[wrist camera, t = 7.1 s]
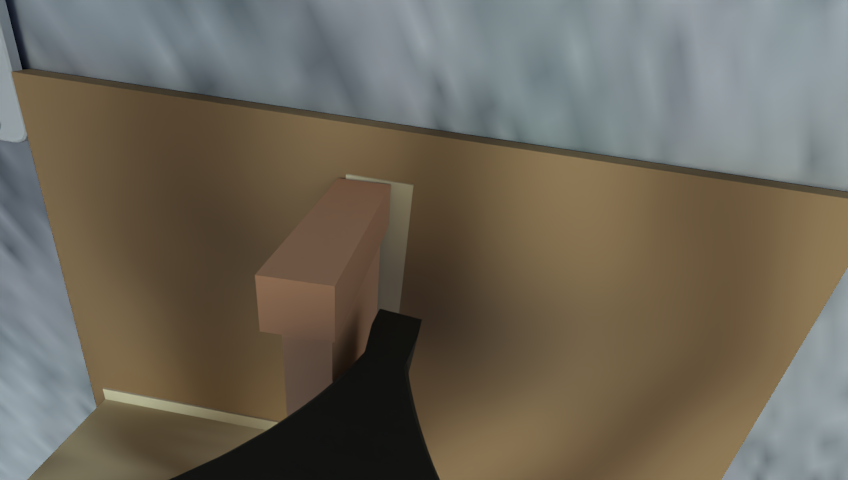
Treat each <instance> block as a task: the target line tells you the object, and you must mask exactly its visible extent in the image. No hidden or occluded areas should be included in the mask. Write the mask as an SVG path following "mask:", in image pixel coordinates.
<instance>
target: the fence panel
mask: <svg viewBox="0 0 848 480" xmlns="http://www.w3.org/2000/svg"><path fill="white" fill-rule="evenodd" d="M390 191H391V185H389V184H381V183H373V182H365V181H357V180H349V179H341V178H338V179H337V180H336V181H335V182H334V184H333V185H332V186H331V187H330V188H329V189H328V190H327V192H326V193H325V194H324V195H323V196H322V197H321V199H320V200H319V201H318V202H317V203H316V204H315V206H314V207H313V208H312V209H311V210H310V211H309V213H308V214H307V215H306V216H305V217H304V218H303V220H302V221H301V222H300V223H299V224H298V225H297V227H296V228H295V229H294V230H293V231H292V232H291V234H290V235H289V236H288V237H287V238H286V239H285V241H284V242H283V243H282V244H281V245H280V246H279V248H278V249H277V250H276V251H275V252H274V253H273V255H272V256H271V257H270V258H269V259H268V260H267V262H266V263H265V264H264V265H263V266H262V267H261V268H260V270H259V271H258V272H257V273H256V274H255V281H256V293H257V305H258V317H259V328H260V332H267V333H274V334H280V335H282V341H283V358H284V374H285V391H286V408H287V417H288V416H289V415H291V414H292V413H294V412H295V411H297V410H298V409H300V408H301V407H302V406H304V405H305V404H306V403H308V402H309V401H310V400H312V399H313V398H314V397H316V396H317V395H318V394H319V393H321V392H322V391H323V390H324V389H326V388H327V387H328V386H329V385H330V384H332V383H333V382H334V381H335V380H336V379H337V378H338V377H339V376H340V375H341V374H343V373H344V372H345V371H346V370H347V369H348V368H349V367H350V366H351V365H352V364H353V363H354V362H355V361H356V360H357V359H358V358H359V357H360V356H361V355H362V354H363V353H364V352H365V349H366V345H367V341H368V337H369V333H370V329H371V325H372V323H373V321H374V319H375V317H376V315H377V304H378V283H379V262H380V244H381V242H382V240H383V237H384V235H385V233H386V231H387V229H388V227H389V209H390Z"/></svg>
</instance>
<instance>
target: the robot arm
mask: <svg viewBox="0 0 848 480" xmlns="http://www.w3.org/2000/svg"><path fill="white" fill-rule="evenodd" d="M19 70H22V67H21V62H20V58H19V54H18V50H17V46H16V42H15V38H14V34H13V30H12V26H11V22H10V18H9V14H8V10H7V5H6V1H5V0H0V124H1V125H0V140H3V141H9V142H23V141H26V140H28V136H27V132H26V129H25V125H24V121H23V117H22V113H21V109H20V105H19V101H18V97H17V93H16V90H15V86H14V82H13V78H12V74H11V72H13V71H19ZM421 322H422V319H419V318H415V317H411V316H407V315H403V314H399V313H395V312H391V311H387V310H384V309H379V311H378V313H377V315H376V317H375V319H374V321H373V323H372V325H371V329H370V333H369V337H368V341H367V345H366V349H365V352H364V353H363V354H362V355H361V356H360V357H359V358H358V359H357V360H356V361H355V362H354V363H353V364H352V365H351V366H350V367H349V368H348V369H347V370H346V371H345V372H344V373H343V374H341V375H340V376H339V377H338V378H337V379H336V380H335V381H334V382H333V383H332V384H330V385H329V386H328V387H327V388H326V389H324V390H323V391H322V392H321V393H319V394H318V395H317V396H316V397H314V398H313V399H312V400H310V401H309V402H308V403H306V404H305V405H304V406H302V407H301V408H300V409H298V410H297V411H295V412H294V413H292V414H291V415H289V416H288V417H286V418H285V419H283V420H282V421H281V422H279V423H277V424H276V425H274V426H273V427H271V428H269V429H268V430H266V431H265V432H263V433H261V434H259V435H257V436H256V437H254V438H252V439H250V440H249V441H247V442H245V443H243V444H241V445H240V446H238V447H236V448H234V449H232V450H231V451H229V452H227V453H225V454H223V455H221V456H219V457H217V458H215V459H213V460H211V461H208V462H206V463H204V464H202V465H200V466H198V467H195V468H193V469H191V470H189V471H187V472H184V473H182V474H180V475H178V476H176V477H173V478H171V479H169V480H440V479H439V476H438V474H437V472H436V469H435V467H434V465H433V462H432V460H431V457H430V454H429V451H428V448H427V445H426V443H425V440H424V437H423V433H422V430H421V427H420V424H419V420H418V416H417V413H416V409H415V404H414V400H413V395H412V391H411V386H410V380H409V370H410V366H411V362H412V358H413V354H414V350H415V346H416V342H417V338H418V334H419V330H420V326H421Z"/></svg>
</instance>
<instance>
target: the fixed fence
mask: <svg viewBox="0 0 848 480" xmlns="http://www.w3.org/2000/svg"><path fill="white" fill-rule="evenodd" d="M265 431H266V430H263V429H257V428H252V427H247V426H242V425H237V424H232V423H226V422H221V421H216V420H211V419H206V418H201V417H195V416H190V415H185V414H180V413H175V412H170V411H164V410H159V409H154V408H149V407H144V406H139V405H133V404H128V403H123V402H118V401H113V400H108V399H105V400H104V401H103V402H102V403H101V404H100V405H99V406H98V407H97V408H96V409H95V410H94V411H93V412H92V413H91V414H90V415H89V416H88V417H87V418H86V419H85V421H84V422H83V423H82V424H81V425H80V426H79V427H78V428H77V429H76V430H75V431H74V432H73V433H72V434H71V435H70V436H69V437H68V438H67V439H66V440H65V441H64V442H63V443H62V444H61V445H60V446H59V447H58V448H57V450H56V451H55V452H54V453H53V454H52V455H51V456H50V457H49V458H48V459H47V460H46V461H45V462H44V463H43V464H42V465H41V466H40V467H39V468H38V469H37V470H36V471H35V472H34V473H33V474H32V475H31V476H30V477H29V479H28V480H169V479H171V478H173V477H176V476H178V475H180V474H182V473H184V472H187V471H189V470H191V469H193V468H195V467H198V466H200V465H202V464H204V463H206V462H208V461H211V460H213V459H215V458H217V457H219V456H221V455H223V454H225V453H227V452H229V451H231V450H232V449H234V448H236V447H238V446H240V445H241V444H243V443H245V442H247V441H249V440H250V439H252V438H254V437H256V436H257V435H259V434H261V433H263V432H265Z"/></svg>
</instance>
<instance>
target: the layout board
mask: <svg viewBox="0 0 848 480" xmlns="http://www.w3.org/2000/svg"><path fill="white" fill-rule="evenodd" d="M11 74H12V78H13V82H14V86H15V90H16V93H17V97H18V101H19V105H20V109H21V113H22V117H23V121H24V125H25V129H26V132H27V136H28V140H29V144H30V148H31V152H32V156H33V160H34V164H35V168H36V172H37V175H38V179H39V183H40V187H41V191H42V195H43V199H44V203H45V207H46V211H47V214H48V218H49V222H50V226H51V230H52V234H53V238H54V242H55V246H56V250H57V254H58V257H59V261H60V265H61V269H62V273H63V277H64V281H65V285H66V289H67V293H68V296H69V300H70V304H71V308H72V312H73V316H74V320H75V324H76V328H77V332H78V336H79V339H80V343H81V347H82V351H83V355H84V359H85V363H86V367H87V371H88V375H89V378H90V382H91V386H92V390H93V394H94V398H95V402H96V406H97V407H98V406H99V405H100V404H101V403H102V402H103V401H104V400H105V399H108V400H113V401H118V402H123V403H128V404H133V405H139V406H144V407H149V408H154V409H159V410H164V411H170V412H175V413H180V414H185V415H190V416H195V417H201V418H206V419H211V420H216V421H221V422H226V423H232V424H237V425H242V426H247V427H252V428H257V429H263V430H268V429H269V428H271V427H273V426H274V425H276V424H277V423H279V422H281V421H282V420H283V419H285V418H286V417H287V408H286V391H285V374H284V358H283V341H282V335H280V334H274V333H267V332H260V328H259V317H258V305H257V293H256V281H255V274H256V273H257V272H258V271H259V270H260V268H261V267H262V266H263V265H264V264H265V263H266V262H267V260H268V259H269V258H270V257H271V256H272V255H273V253H274V252H275V251H276V250H277V249H278V248H279V246H280V245H281V244H282V243H283V242H284V241H285V239H286V238H287V237H288V236H289V235H290V234H291V232H292V231H293V230H294V229H295V228H296V227H297V225H298V224H299V223H300V222H301V221H302V220H303V218H304V217H305V216H306V215H307V214H308V213H309V211H310V210H311V209H312V208H313V207H314V206H315V204H316V203H317V202H318V201H319V200H320V199H321V197H322V196H323V195H324V194H325V193H326V192H327V190H328V189H329V188H330V187H331V186H332V185H333V184H334V182H335V181H336V180H337V179H338V178H341V179H349V180H357V181H365V182H373V183H381V184H389V185H391V191H390V209H389V227H388V229H387V231H386V233H385V235H384V237H383V240H382V242H381V244H380V262H379V283H378V304H377V313H378V311H379V309H384V310H387V311H391V312H395V313H399V314H403V315H407V316H411V317H415V318H419V319H422V322H421V326H420V330H419V334H418V338H417V342H416V346H415V350H414V354H413V358H412V362H411V366H410V370H409V380H410V386H411V391H412V395H413V400H414V404H415V409H416V413H417V416H418V420H419V424H420V427H421V430H422V433H423V437H424V440H425V443H426V445H427V448H428V451H429V454H430V457H431V460H432V462H433V465H434V467H435V469H436V472H437V474H438V476H439V479H440V480H721V479H722V477H723V476H724V474H725V472H726V471H727V469H728V467H729V466H730V464H731V462H732V461H733V459H734V457H735V456H736V454H737V452H738V451H739V449H740V447H741V445H742V444H743V442H744V440H745V439H746V437H747V435H748V434H749V432H750V430H751V429H752V427H753V425H754V424H755V422H756V420H757V419H758V417H759V415H760V414H761V412H762V410H763V408H764V407H765V405H766V403H767V402H768V400H769V398H770V397H771V395H772V393H773V392H774V390H775V388H776V387H777V385H778V383H779V382H780V380H781V378H782V377H783V375H784V373H785V372H786V370H787V368H788V366H789V365H790V363H791V361H792V360H793V358H794V356H795V355H796V353H797V351H798V350H799V348H800V346H801V345H802V343H803V341H804V340H805V338H806V336H807V335H808V333H809V331H810V329H811V328H812V326H813V324H814V323H815V321H816V319H817V318H818V316H819V314H820V313H821V311H822V309H823V308H824V306H825V304H826V303H827V301H828V299H829V298H830V296H831V294H832V292H833V291H834V289H835V287H836V286H837V284H838V282H839V281H840V279H841V277H842V276H843V274H844V272H845V271H846V269H847V267H848V192H844V191H837V190H831V189H824V188H817V187H811V186H804V185H797V184H791V183H784V182H778V181H771V180H764V179H758V178H751V177H744V176H738V175H731V174H725V173H718V172H711V171H705V170H698V169H691V168H685V167H678V166H672V165H665V164H658V163H652V162H645V161H638V160H632V159H625V158H619V157H612V156H605V155H599V154H592V153H585V152H579V151H572V150H566V149H559V148H552V147H546V146H539V145H532V144H526V143H519V142H512V141H506V140H499V139H493V138H486V137H479V136H473V135H466V134H459V133H453V132H446V131H440V130H433V129H426V128H420V127H413V126H406V125H400V124H393V123H387V122H380V121H373V120H367V119H360V118H353V117H347V116H340V115H334V114H327V113H320V112H314V111H307V110H300V109H294V108H287V107H281V106H274V105H267V104H261V103H254V102H247V101H241V100H234V99H228V98H221V97H214V96H208V95H201V94H194V93H188V92H181V91H175V90H168V89H161V88H155V87H148V86H141V85H135V84H128V83H122V82H115V81H108V80H102V79H95V78H88V77H82V76H75V75H69V74H62V73H55V72H49V71H42V70H35V69H25V70H19V71H13V72H11Z"/></svg>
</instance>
